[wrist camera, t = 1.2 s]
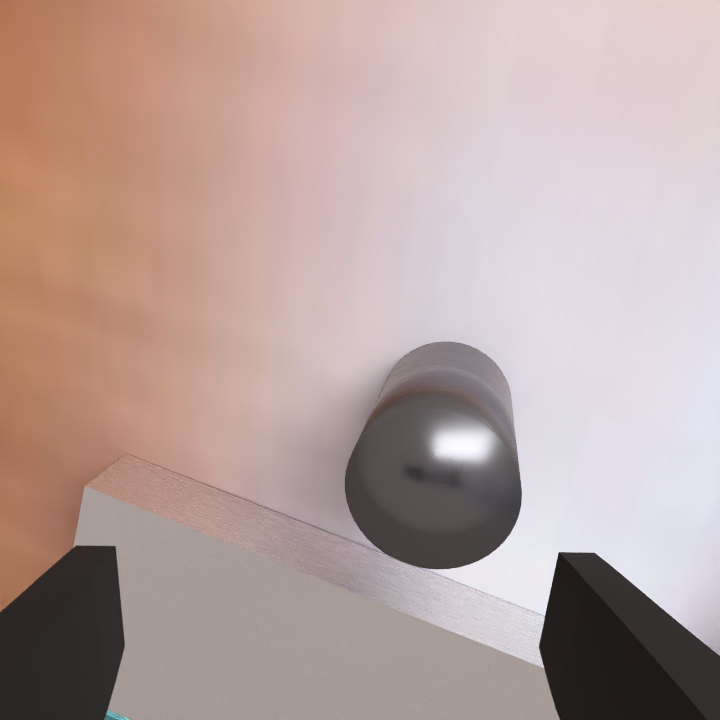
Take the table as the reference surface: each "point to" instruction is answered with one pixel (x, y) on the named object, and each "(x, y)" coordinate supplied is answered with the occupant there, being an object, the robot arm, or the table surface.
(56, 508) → the table surface
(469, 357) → the cylinder
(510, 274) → the table surface
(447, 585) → the plate
